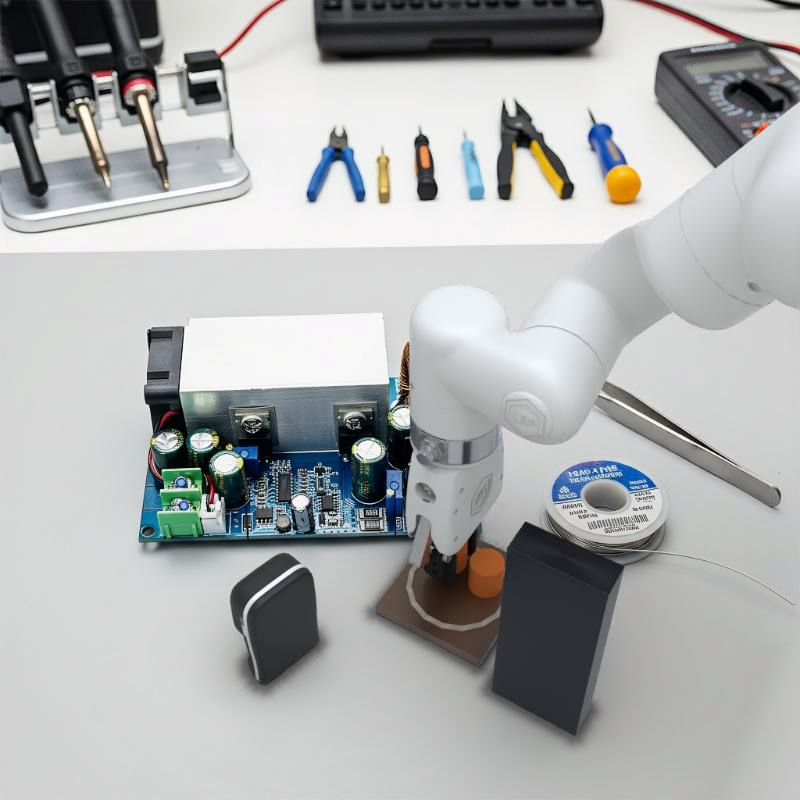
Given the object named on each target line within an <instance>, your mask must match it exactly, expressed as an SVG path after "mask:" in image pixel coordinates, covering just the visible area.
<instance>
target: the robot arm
mask: <svg viewBox="0 0 800 800" xmlns="http://www.w3.org/2000/svg"><path fill="white" fill-rule="evenodd" d="M774 301H777V302H779V303H781V304H782V305H784V306H787V307H788V308H791V309H795V310H798V311H800V101H799V102H797V103H796V104H795V105H794V106H791V108H790V109H788V110H787V111H786V112H785V113H783V114H782V115H780V116H779V117H778V118H777V119H775V120H774V121H773V122H772V123H770V124H769V125H768V126H766V128H764V129H763V130H761V131H760V132H759V133H758V134H757V135H756V136H754V137H753V138H752V139H750V140H749V141H748V142H746V143H745V144H744V145H743V146H741V148H739V149H738V150H736V152H734V153H733V154H732V155H731V156H729V157H728V158H727V159H726V160H724V161H723V162H722V163H720V164H719V165H718V166H717V167H716V168H714V169H713V170H711V172H709V173H708V174H706V175H705V176H704V177H703V178H702V179H700V180H699V181H698V182H696V183H695V184H694V185H693V186H692V187H690V188H689V189H687V190H686V191H685V192H683V194H681V195H680V196H679V197H677V198H676V199H675V200H674V201H672V202H671V203H669V204H668V205H667V206H666V207H664V208H663V209H662V210H660V211H659V212H658V213H656V214H655V215H654V216H653V217H651V218H647V219H644V220H642V221H639V222H638V223H636V224H633V225H630V226H627V227H625V228H623V229H622V230H619V231H618V232H616V233H614V234H613V235H612V236H610V237H609V238H607V239H606V240H604V241H603V242H601V243H600V244H599V245H598V246H596V247H595V248H594V249H593V250H592V251H591V252H589V253H587V254H586V255H585V256H584V257H583V258H582V259H580V261H578V262H577V263H576V264H574V265H573V266H572V267H571V268H570V269H568V270H567V271H566V272H564V273H563V274H562V275H561V276H560V277H559V278H558V279H557V280H556V281H555V282H553V283H552V284H551V285H550V286H549V287H548V288H547V289H546V290H545V292H544V293H543V294H542V295H541V296H540V298H539V299H538V300H537V302H536V303H535V305H534V306H533V307H532V309H531V310H530V312H529V313H528V315H527V316H526V317H525V319H524V321H523V322H522V324H521V325H520V327H519V329H518V330H517V331H516V332H512V331H510V320H509V315H508V312H507V309H506V307H505V306H504V304H503V303H502V302H501V300H500V299H499V298H497V296H495V295H494V294H493V293H491V292H489V291H487V289H483V288H480V287H477V286H473V285H467V284H448V285H444V286H441V287H440V286H439V287H437V288H435V289H432V290H430V291H429V292H427V293H425V294H424V295H422V297H420V298H419V300H418V301H417V302H416V303H415V305H414V307H413V309H412V311H411V314H410V317H409V328H408V329H409V331H408V333H409V334H408V335H409V337H408V338H409V340H408V341H409V349H408V350H409V353H408V354H409V441H410V445H411V447H412V449H413V450H412V453H411V459H410V464H409V470H408V477H407V486H406V487H407V488H406V497H405V498H406V499H405V526H406V532H407V535H408V537H409V538H410V539H413V542H412V545H411V549H410V552H409V555H408V559H407V564H408V563H410V564H412V565H414V566H416V567H418V568H422V567H424V571H425V572H426V573H428V574H429V575H430V576H431V577H432V578H434V579H436V580H439V581H440V580H442V581H444V582H446V583H448V584H450V585H453V584H454V582H455V581H456V568H457V555H456V554H455V553H457V552H458V551H459V550H460V549H461V548H462V547H463V545H464V544H465V543H466V541H467V540H468V547H467V555H468V556H471V555H472V554H473V553H474V552H475V551H476V549H477V539H478V531H479V525H480V524H481V522H482V521H483V520H484V518H485V517H486V515H487V514H488V513H489V511H490V510H491V508H492V507H493V505H495V503H496V501H497V500H498V498H499V496H500V494H501V492H502V490H503V484H504V463H505V462H504V460H505V458H504V456H505V455H504V453H505V451H504V450H505V449H504V448H505V447H504V434H503V433H504V432H503V429H505V430H507V431H509V432H510V433H512V434H513V435H516V436H518V437H519V438H521V439H524V440H526V441H529V442H531V443H534V444H538V445H543V446H557V445H561V444H564V443H566V442H568V441H569V440H571V439H572V438H573V437H575V436H576V435H577V434H578V433H579V431H580V430H581V428H582V427H583V426H584V424H585V423H586V421H587V419H588V417H589V415H590V413H591V411H592V409H593V407H594V406H595V403H596V402H597V399H598V398H599V396H600V394H601V391H602V390H603V387H604V385H605V383H606V382H607V380H608V377H609V376H610V373H611V372H612V370H613V368H614V366H615V365H616V362H617V361H618V358H620V355H621V353H622V352H623V350H624V348H625V347H626V346H627V345H628V344H630V343H631V342H632V341H634V339H635V338H637V337H638V336H639V335H641V334H642V333H644V332H645V331H647V330H648V329H649V328H650V327H652V326H654V325H655V324H656V323H658V322H660V321H661V320H663V319H664V318H665V317H668V315H671V314H672V313H674V314H675V315H676V316H678V317H679V318H680V319H681V320H683V321H684V322H686V323H688V324H690V325H692V326H694V327H696V328H699V329H703V330H708V331H721V330H722V331H723V330H727V329H731V328H732V327H734V326H737V325H738V324H740V323H742V322H744V321H745V320H746V319H748V318H750V317H752V316H753V315H754V314H756V313H757V312H759V311H761V310H762V309H763V308H765V307H767V306H768V305H770V304H772V303H773V302H774ZM432 540H433V541H432Z"/></svg>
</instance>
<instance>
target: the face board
mask: <svg viewBox="0 0 800 800" xmlns="http://www.w3.org/2000/svg"><path fill="white" fill-rule="evenodd" d="M432 541H433V540H432ZM482 548H490V549H494V550H496V551H498V552H499V553H500V554H501V555H502V556H503V558H504V562H505V563H506V554H507V551H506V550H503V549H501V548H499V547H496V546H495V545H492V544H490V543H488V542H486V541H484V540H482V539H480V538H477V549H476V551H477V550H479V549H482ZM470 557H471V556H468V555H467V564H466V567H465V569H464V570H463V571H462V572H460V573H459V574H456V581H455V582H454V584H453V585H450V584H448V583H446V582H444V581H442V580H440V581H439V580H436V579H434V578H432V577H431V576H430V575H429V574H428V573H426V572H425V571H424V567H422V568H418V567H416V566H414V565H412V564H410V563H408V562H407V564H406V565H405V567H404V569H402V571H401V572H400V574H399V575H398V576H397V578H396V579H395V580H394V581H393V583H392V584H391V585H390V587H388V589H387V590H386V592H385V593H384V594H383V596H382V597H381V598H380V600H379V601H378V602H377V604H376V605H375V613H376V614H377V615H379V616H381V617H384V618H385V619H387V620H388V621H391V622H392V623H395V624H397V625H398V626H401V627H402V628H405V629H406V630H408V631H410V632H412V633H414V634H416V635H417V636H420V637H421V638H423V639H425V640H426V641H429V642H431V643H433V644H435V645H437V646H438V647H440V648H442V649H444V650H446V651H448V652H450V653H452V654H453V655H456V656H458V657H459V658H461V659H463V660H465V661H467V662H469V663H471V664H472V665H474V666H476V667H478V668H479V667H481V665H482V663H483V662H484V661H485V659H486V657H487V656H488V654H489V652H490V651H491V649H492V648H493V647H494V645H495V644H496V643H497V637H498V628H499V618H500V609H501V600H502V591H503V584H502V589H501V591H500V593H499V594H498V595H496V596H495V597H492V598H480V597H477V596H476V595H474V594H473V593H472V592H471V591H470V589H469V586H468V578H469V564H470ZM504 573H505V565H504ZM503 582H504V574H503Z"/></svg>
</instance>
